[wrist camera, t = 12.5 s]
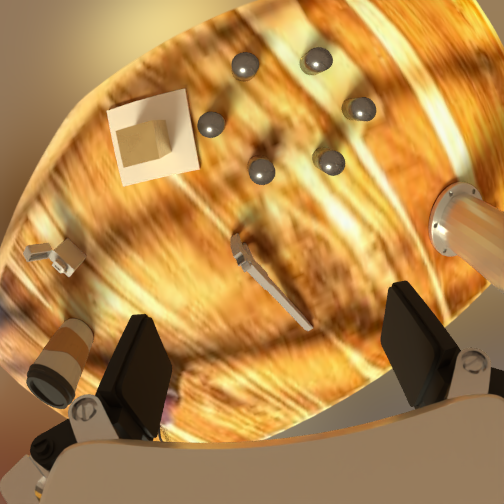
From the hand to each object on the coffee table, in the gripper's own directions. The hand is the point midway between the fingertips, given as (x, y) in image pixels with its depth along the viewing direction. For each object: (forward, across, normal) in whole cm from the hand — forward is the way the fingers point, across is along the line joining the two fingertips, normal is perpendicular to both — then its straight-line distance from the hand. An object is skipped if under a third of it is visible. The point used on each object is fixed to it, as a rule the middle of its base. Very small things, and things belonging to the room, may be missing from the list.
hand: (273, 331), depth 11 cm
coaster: (+26, +11, -8) cm, 30 cm away
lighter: (+26, +28, +4) cm, 38 cm away
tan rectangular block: (+26, +11, -7) cm, 29 cm away
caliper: (+28, -1, +15) cm, 32 cm away
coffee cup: (+26, +34, +20) cm, 47 cm away
